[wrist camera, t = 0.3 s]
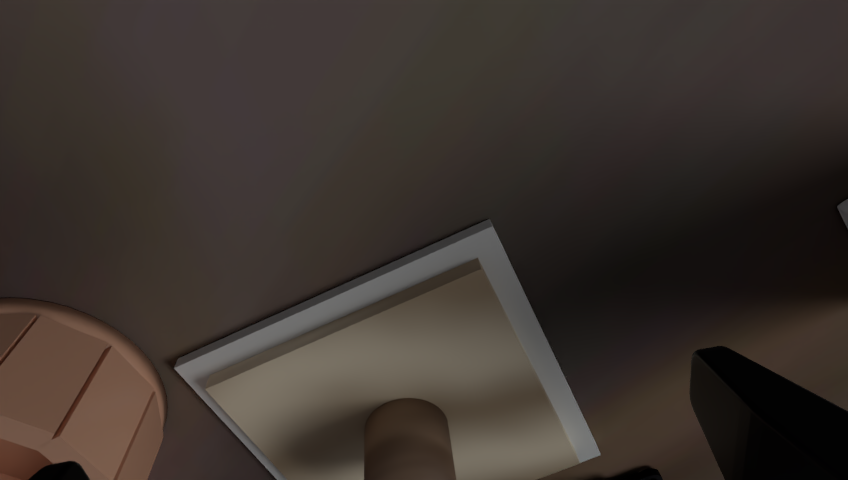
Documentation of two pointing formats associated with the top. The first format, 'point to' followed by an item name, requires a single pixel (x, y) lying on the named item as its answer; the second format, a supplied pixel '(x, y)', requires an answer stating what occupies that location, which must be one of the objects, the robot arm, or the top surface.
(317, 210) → the top surface
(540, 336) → the mat
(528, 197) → the top surface
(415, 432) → the cover
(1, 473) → the bowl
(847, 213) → the milk
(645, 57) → the top surface
